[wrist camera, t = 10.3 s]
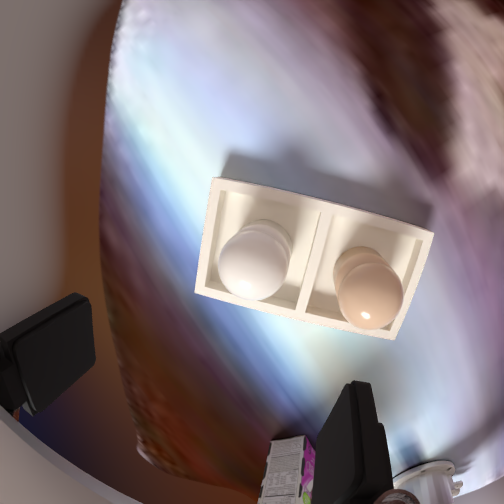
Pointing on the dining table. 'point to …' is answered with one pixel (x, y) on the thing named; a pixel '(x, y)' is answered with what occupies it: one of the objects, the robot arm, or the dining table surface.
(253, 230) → the white egg
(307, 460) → the candy bar box
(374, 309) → the brown egg
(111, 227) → the dining table surface
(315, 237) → the caddy
